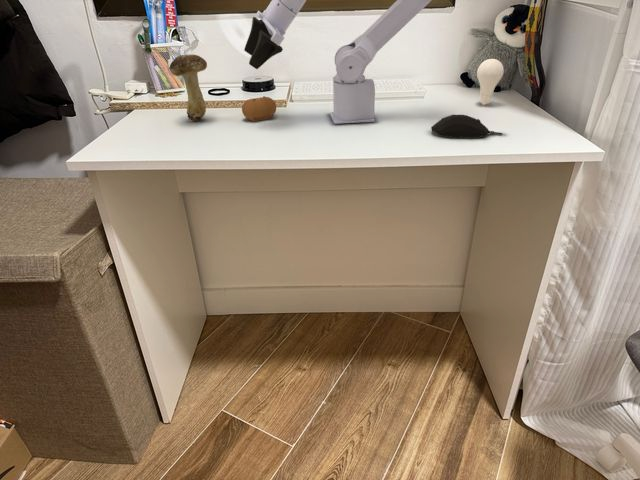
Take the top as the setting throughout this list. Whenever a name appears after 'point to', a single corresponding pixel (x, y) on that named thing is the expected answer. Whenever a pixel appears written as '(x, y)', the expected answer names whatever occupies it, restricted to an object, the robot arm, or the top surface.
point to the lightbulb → (489, 78)
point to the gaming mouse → (461, 127)
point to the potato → (259, 108)
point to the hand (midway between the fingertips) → (250, 59)
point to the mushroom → (191, 82)
